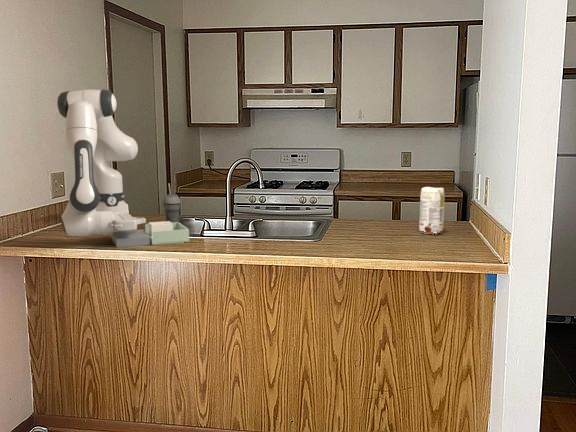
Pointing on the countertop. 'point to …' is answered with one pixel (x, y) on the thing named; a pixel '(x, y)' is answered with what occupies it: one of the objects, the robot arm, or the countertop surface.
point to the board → (130, 238)
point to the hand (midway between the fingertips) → (145, 220)
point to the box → (169, 235)
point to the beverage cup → (172, 207)
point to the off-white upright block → (159, 227)
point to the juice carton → (431, 209)
